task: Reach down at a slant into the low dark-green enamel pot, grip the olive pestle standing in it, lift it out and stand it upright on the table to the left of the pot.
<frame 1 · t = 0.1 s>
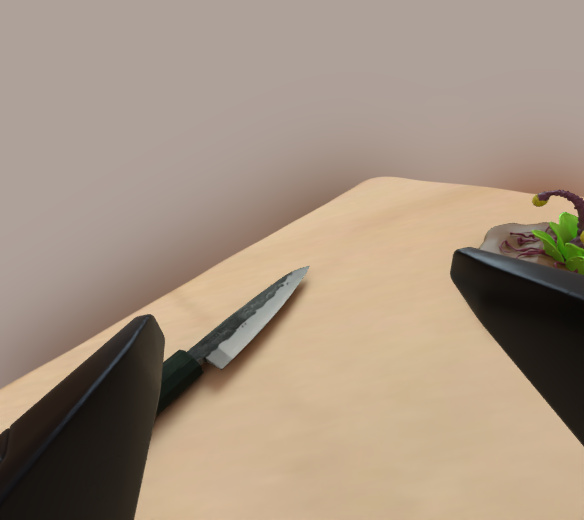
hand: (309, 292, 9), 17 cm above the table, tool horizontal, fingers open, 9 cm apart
kitchen knife: (203, 371, 27), on the table, touching olive pestle, pot
plant: (580, 288, 30), on the table
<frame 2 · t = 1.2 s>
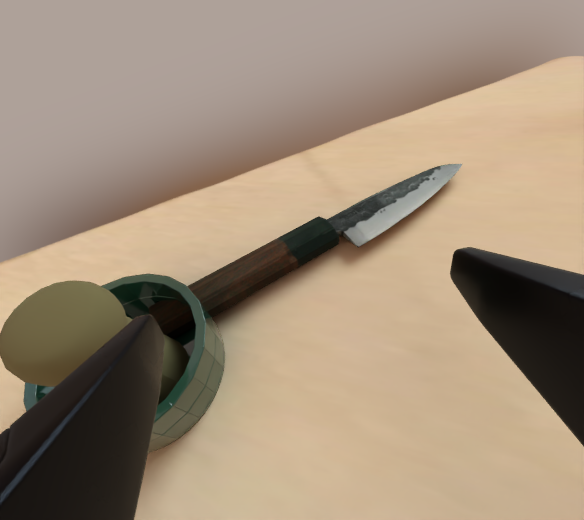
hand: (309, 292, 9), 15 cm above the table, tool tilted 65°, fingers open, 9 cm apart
olive pestle: (151, 374, 23), resting on pot, touching kitchen knife
kitchen knife: (335, 242, 29), on the table, touching olive pestle, pot
pot: (153, 368, 23), on the table
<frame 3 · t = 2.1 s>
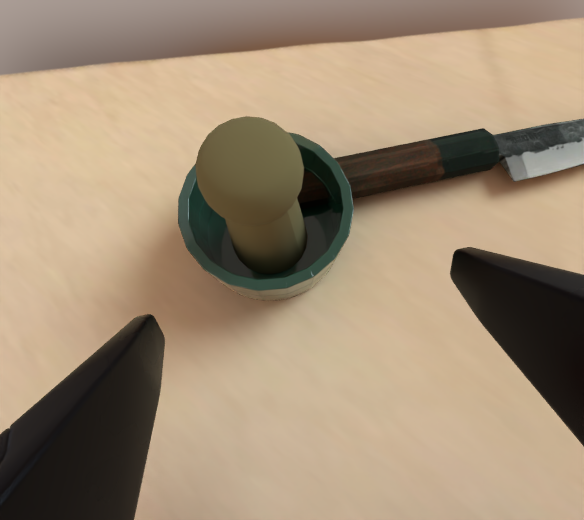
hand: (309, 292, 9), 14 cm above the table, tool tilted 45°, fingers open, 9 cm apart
olive pestle: (270, 238, 23), resting on pot, touching kitchen knife
kitchen knife: (484, 165, 25), on the table, touching olive pestle, pot
pot: (271, 231, 24), on the table
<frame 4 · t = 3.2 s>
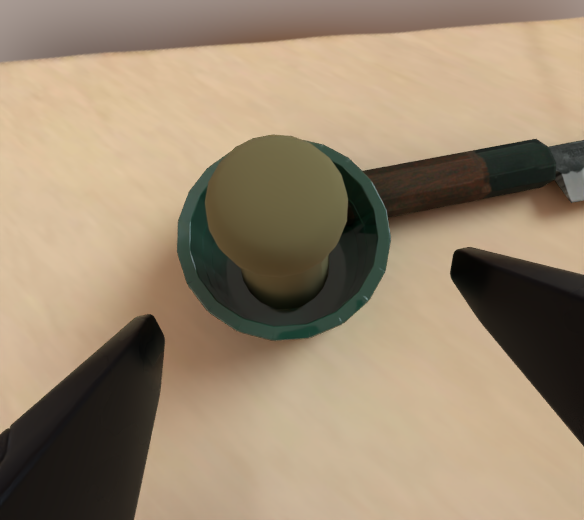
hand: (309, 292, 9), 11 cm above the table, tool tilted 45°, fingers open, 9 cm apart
olive pestle: (285, 265, 20), resting on pot, touching kitchen knife
kitchen knife: (533, 181, 22), on the table, touching olive pestle, pot
pot: (285, 254, 20), on the table
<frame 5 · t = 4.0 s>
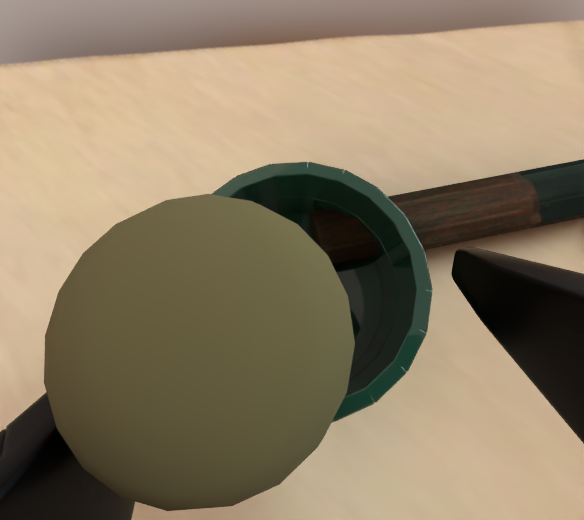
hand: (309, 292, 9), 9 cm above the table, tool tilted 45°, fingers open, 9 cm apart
olive pestle: (278, 315, 15), point 2 cm above the table, touching gripper
pot: (296, 294, 17), on the table
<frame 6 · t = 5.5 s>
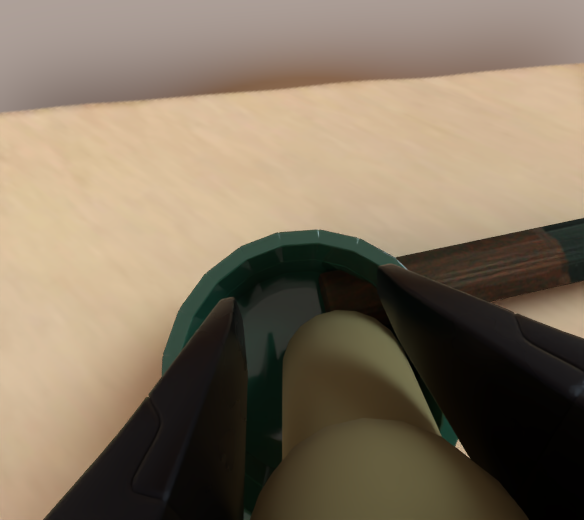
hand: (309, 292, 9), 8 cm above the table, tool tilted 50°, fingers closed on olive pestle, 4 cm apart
olive pestle: (343, 370, 14), point 2 cm above the table, touching gripper
pot: (305, 362, 16), on the table
when the fingers open (7 cm above the table, at t = 11.6 s): olive pestle stays where it is, on the table.
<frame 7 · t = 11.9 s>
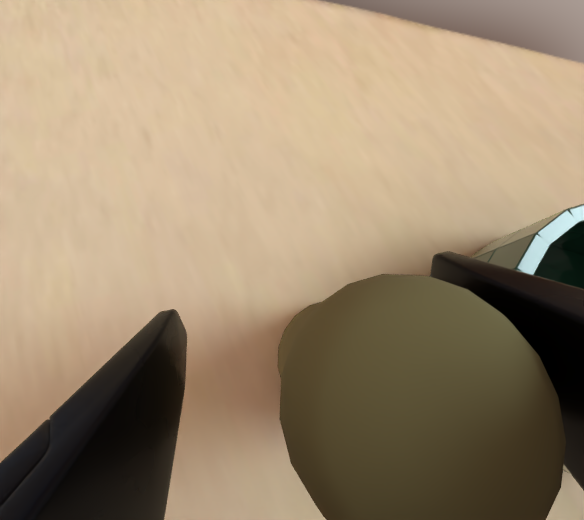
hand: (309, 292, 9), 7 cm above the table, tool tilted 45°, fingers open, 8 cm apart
olive pestle: (335, 358, 15), on the table
pot: (549, 338, 15), on the table
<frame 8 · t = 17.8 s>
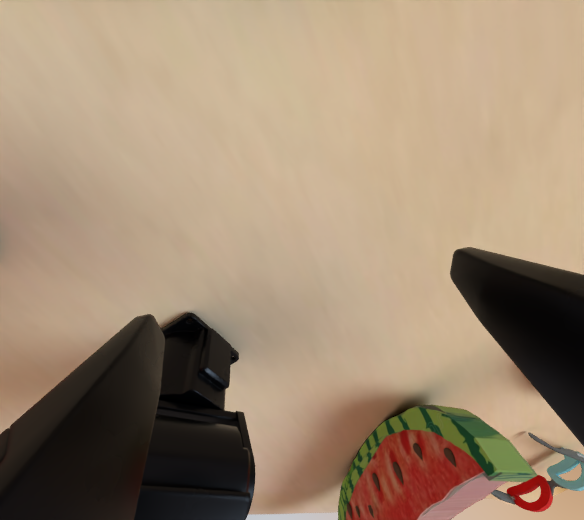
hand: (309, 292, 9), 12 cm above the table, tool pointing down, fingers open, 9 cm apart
fruit slice: (385, 437, 38), on the table
novelty glasses: (518, 456, 47), on the table
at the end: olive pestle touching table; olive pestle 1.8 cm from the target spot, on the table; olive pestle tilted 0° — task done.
